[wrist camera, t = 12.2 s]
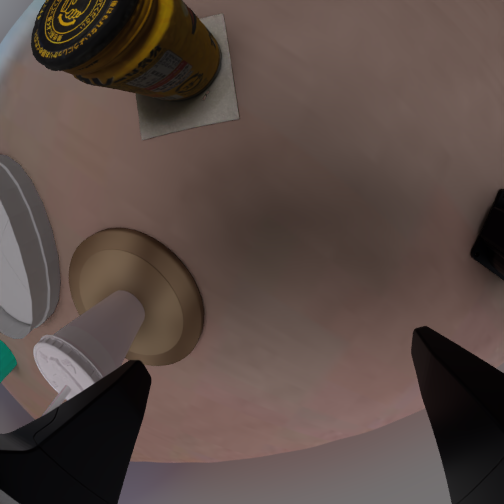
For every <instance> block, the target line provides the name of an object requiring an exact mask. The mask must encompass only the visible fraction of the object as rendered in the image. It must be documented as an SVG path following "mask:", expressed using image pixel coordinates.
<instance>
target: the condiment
mask: <svg viewBox="0 0 504 504" xmlns="http://www.w3.org/2000/svg"><path fill="white" fill-rule="evenodd" d="M31 47H32V52H33V55H34V57H35V58H36V60H37V61H38V62H39V63H41V64H42V65H44V66H45V67H46V68H48V69H51V70H53V71H58V70H59V71H64V72H67V73H70V74H73V76H74V77H75V78H76V79H78V80H80V81H82V82H84V83H86V84H91V85H93V86H102V87H107V88H113V89H118V90H123V91H128V92H132V93H136V100H137V108H138V113H139V124H140V131H141V138H142V140H145V139H149V138H152V137H156V136H160V135H164V134H168V133H172V132H177V131H181V130H185V129H190V128H194V127H199V126H204V125H209V124H214V123H219V122H224V121H230V120H236V119H239V113H238V107H237V100H236V94H235V88H234V81H233V74H232V67H231V60H230V53H229V47H228V41H227V34H226V28H225V22H224V16H223V13H222V14H218V15H214V16H209V17H206V18H202V19H199V18H198V17H197V16H196V15H195V14H194V13H193V11H192V10H191V9H190V8H189V7H187V5H186V4H185V3H184V2H183V1H182V0H46V1H45V3H44V4H43V6H42V8H41V9H40V11H39V14H38V15H37V18H36V21H35V26H34V28H33V32H32V40H31ZM207 91H209V93H208V94H206V92H207ZM205 95H206V98H205V100H202V99H203V97H204V96H205ZM153 97H154V98H153Z"/></svg>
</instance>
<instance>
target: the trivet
mask: <svg viewBox="0 0 504 504" xmlns="http://www.w3.org/2000/svg"><path fill="white" fill-rule="evenodd" d="M69 285H70V291H71V295H72V299H73V302H74V304H75V307H76V309H77V311H78V313H79V315H82V314H83V313H85V312H86V311H87V310H89V309H90V308H92V307H93V306H95V305H96V304H98V303H99V302H101V301H102V300H104V299H105V298H106V297H108V296H109V295H111V294H112V293H114V292H116V291H119V290H122V291H127V292H129V293H131V294H132V295H134V296H135V297H136V298H137V299H138V300H139V301H140V303H141V304H142V306H143V308H144V311H145V318H144V321H143V323H142V325H141V327H140V328H139V330H138V332H137V334H136V336H135V338H134V340H133V342H132V344H131V346H130V348H129V350H128V352H127V354H126V356H125V358H126V359H128V360H140V361H142V362H143V364H144V365H151V366H163V365H169V364H173V363H176V362H178V361H180V360H182V359H183V358H185V357H186V356H187V355H188V354H190V353H191V351H192V350H193V349H194V347H195V345H196V343H197V341H198V339H199V337H200V335H201V332H202V328H203V323H204V309H203V304H202V299H201V296H200V293H199V290H198V288H197V286H196V283H195V281H194V279H193V278H192V276H191V275H190V273H189V271H188V270H187V268H186V267H185V266H184V265H183V263H182V262H181V261H180V260H179V259H178V258H177V257H176V256H175V255H174V253H172V252H171V251H170V250H169V249H168V248H167V247H165V246H164V245H163V244H161V243H160V242H158V241H157V240H155V239H154V238H152V237H150V236H148V235H146V234H144V233H141V232H138V231H135V230H131V229H126V228H110V229H106V230H102V231H100V232H98V233H95V234H94V235H92V236H90V237H88V238H87V239H86V240H84V241H83V242H82V243H81V244H80V245H79V246H78V247H77V249H76V251H75V252H74V254H73V257H72V259H71V263H70V267H69Z"/></svg>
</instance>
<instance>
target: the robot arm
mask: <svg viewBox="0 0 504 504" xmlns="http://www.w3.org/2000/svg"><path fill="white" fill-rule="evenodd" d="M503 194H504V189H501V190H500V191H499V193H498V195H497V198H496V200H495V203H494V205H493V207H492V210H491V212H490V214H489V216H488V218H487V221H486V223H485V225H484V227H483V229H482V231H481V233H480V235H479V237H478V239H477V241H476V243H475V245H474V247H473V249H472V251H471V257H472V258H473V259H475V260H476V261H477V262H479V263H480V264H482V265H483V266H485V267H486V268H488V269H489V270H490V271H492V272H493V273H494V274H496V275H497V276H499V277H500V278H501V279H503V280H504V197H503ZM476 252H477V254H476ZM475 254H476V255H475ZM411 354H412V359H413V362H414V366H415V370H416V374H417V378H418V383H419V387H420V391H421V395H422V399H423V402H424V405H425V408H426V410H427V414H428V417H429V420H430V423H431V426H432V429H433V432H434V435H435V438H436V442H437V446H438V449H439V452H440V456H441V460H442V464H443V467H444V471H445V475H446V479H447V484H448V488H449V492H450V497H451V502H452V504H504V373H502V372H501V371H499V370H498V369H496V368H495V367H493V366H491V365H490V364H488V363H487V362H485V361H483V360H482V359H480V358H479V357H477V356H475V355H474V354H472V353H470V352H469V351H467V350H466V349H464V348H462V347H461V346H459V345H457V344H456V343H454V342H452V341H451V340H449V339H447V338H446V337H444V336H443V335H441V334H439V333H438V332H436V331H434V330H433V329H431V328H429V327H427V326H423V327H419V328H416V329H414V331H413V338H412V347H411ZM150 386H151V376H150V374H149V373H148V371H147V369H146V367H145V366H144V364H143V362H142V361H140V360H129V361H128V362H126V363H125V364H123V365H122V366H120V367H119V368H117V369H116V370H114V371H113V372H111V373H109V374H108V375H106V376H105V377H103V378H102V379H100V380H99V381H97V382H96V383H94V384H93V385H91V386H89V387H88V388H86V389H85V390H83V391H82V392H80V393H79V394H77V395H75V396H74V397H72V398H71V399H69V400H68V401H66V402H64V403H63V404H61V405H60V406H58V407H56V408H55V409H53V410H52V411H50V412H48V413H47V414H45V415H43V416H42V417H40V418H38V419H36V420H34V421H32V422H31V423H29V424H27V425H25V426H23V427H21V428H19V429H17V430H15V431H13V432H10V433H7V434H0V504H118V500H119V496H120V492H121V489H122V486H123V482H124V479H125V475H126V472H127V468H128V465H129V462H130V458H131V455H132V452H133V449H134V445H135V442H136V439H137V436H138V433H139V430H140V427H141V424H142V420H143V417H144V413H145V409H146V404H147V399H148V395H149V391H150Z"/></svg>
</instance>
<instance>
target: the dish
mask: <svg viewBox="0 0 504 504" xmlns="http://www.w3.org/2000/svg"><path fill="white" fill-rule="evenodd" d="M60 283H61V280H60V270H59V257H58V253H57V249H56V245H55V240H54V236H53V231H52V228H51V225H50V222H49V220H48V217H47V214H46V211H45V208H44V205H43V202H42V200H41V198H40V196H39V194H38V192H37V190H36V188H35V186H34V184H33V182H32V180H31V179H30V178H29V176H28V175H27V174H26V172H25V171H24V170H23V168H22V167H21V166H20V164H18V163H17V162H16V161H14V160H13V159H12V158H10V157H9V156H7V155H1V154H0V332H1V333H3V334H4V335H6V336H9V337H11V338H13V339H22V338H24V337H25V336H26V335H27V334H28V333H30V332H31V331H32V330H33V329H34V328H37V327H38V326H40V325H41V324H42V323H43V322H45V320H46V319H47V318H48V317H49V316H50V315H52V314H53V313H54V310H55V308H56V305H57V303H58V301H59V292H60Z"/></svg>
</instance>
